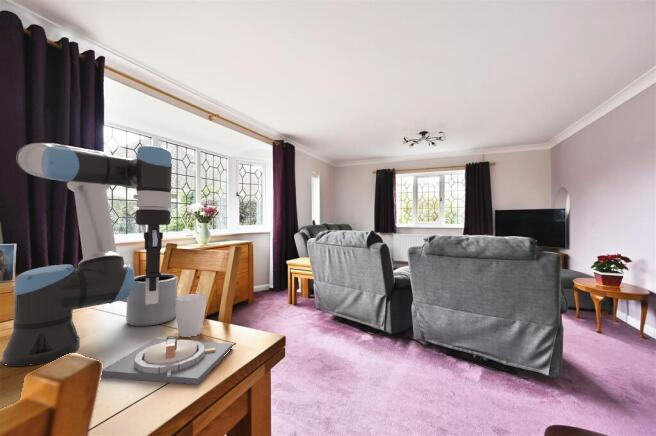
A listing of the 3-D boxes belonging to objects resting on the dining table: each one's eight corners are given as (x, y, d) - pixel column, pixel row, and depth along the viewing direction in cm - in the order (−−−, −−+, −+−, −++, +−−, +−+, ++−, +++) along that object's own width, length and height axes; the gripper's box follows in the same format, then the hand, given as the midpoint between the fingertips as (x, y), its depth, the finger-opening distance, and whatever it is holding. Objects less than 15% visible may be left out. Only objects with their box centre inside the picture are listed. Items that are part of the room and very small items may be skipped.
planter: (186, 315, 115) (187, 275, 115) (153, 330, 100) (154, 283, 100) (151, 311, 119) (152, 272, 119) (114, 325, 103) (115, 280, 103)
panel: (98, 378, 70) (99, 365, 70) (155, 343, 89) (155, 333, 89) (196, 386, 67) (196, 373, 67) (232, 348, 87) (232, 338, 87)
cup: (168, 338, 93) (169, 299, 93) (186, 327, 102) (187, 292, 102) (194, 340, 92) (195, 301, 92) (210, 330, 101) (211, 294, 101)
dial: (147, 350, 80) (148, 332, 80) (196, 344, 85) (196, 326, 85) (140, 372, 69) (141, 350, 70) (196, 363, 74) (197, 342, 74)
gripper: (135, 209, 78) (133, 299, 78) (136, 207, 67) (134, 312, 67) (167, 210, 82) (165, 295, 82) (173, 209, 71) (171, 307, 71)
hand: (151, 303), depth 75 cm, fingers closed
